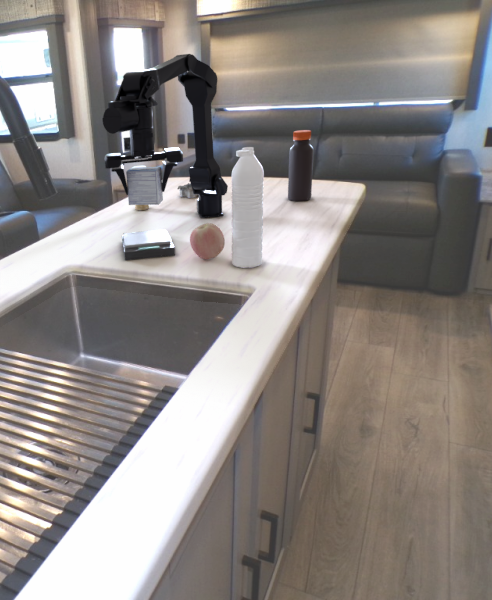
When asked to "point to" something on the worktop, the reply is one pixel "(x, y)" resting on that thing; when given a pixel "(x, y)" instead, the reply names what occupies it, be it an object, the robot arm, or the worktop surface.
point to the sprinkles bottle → (141, 207)
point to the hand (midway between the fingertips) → (145, 193)
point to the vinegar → (300, 167)
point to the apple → (207, 241)
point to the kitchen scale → (147, 244)
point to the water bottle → (247, 210)
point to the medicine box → (144, 186)
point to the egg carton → (187, 191)
